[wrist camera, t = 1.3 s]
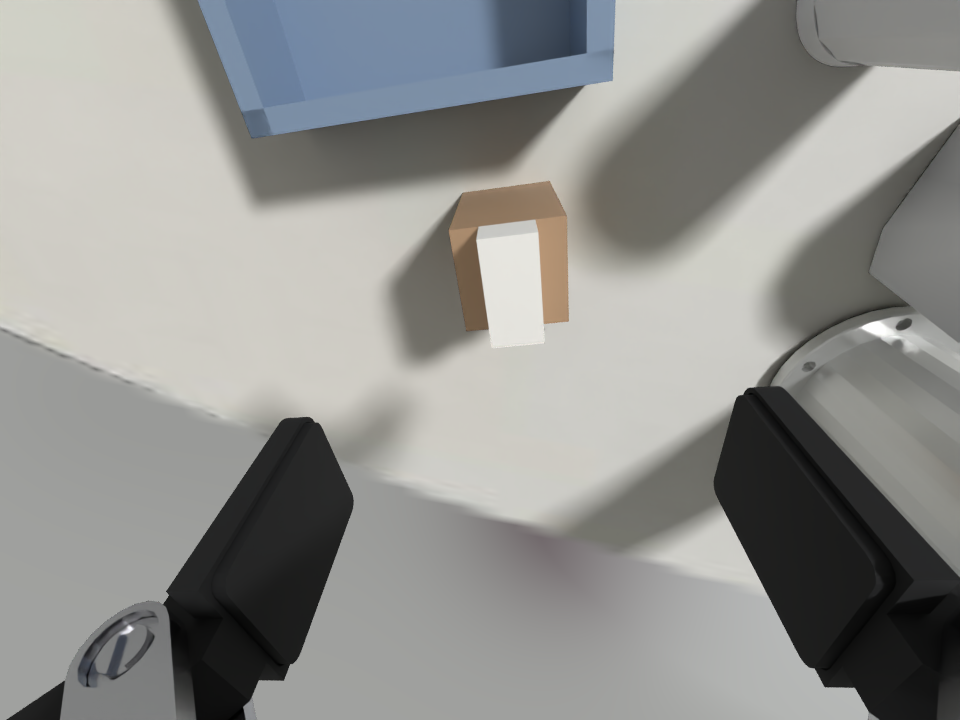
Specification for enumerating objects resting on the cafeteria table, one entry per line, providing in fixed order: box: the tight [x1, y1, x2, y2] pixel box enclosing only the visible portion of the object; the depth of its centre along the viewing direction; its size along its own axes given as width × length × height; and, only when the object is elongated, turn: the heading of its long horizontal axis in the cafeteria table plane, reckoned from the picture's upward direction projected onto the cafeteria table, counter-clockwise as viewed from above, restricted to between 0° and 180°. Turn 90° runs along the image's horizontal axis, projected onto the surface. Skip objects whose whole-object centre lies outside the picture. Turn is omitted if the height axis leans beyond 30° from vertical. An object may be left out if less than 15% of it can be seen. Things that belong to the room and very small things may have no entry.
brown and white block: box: [449, 181, 569, 348], centre depth 21 cm, size 5×5×9 cm
